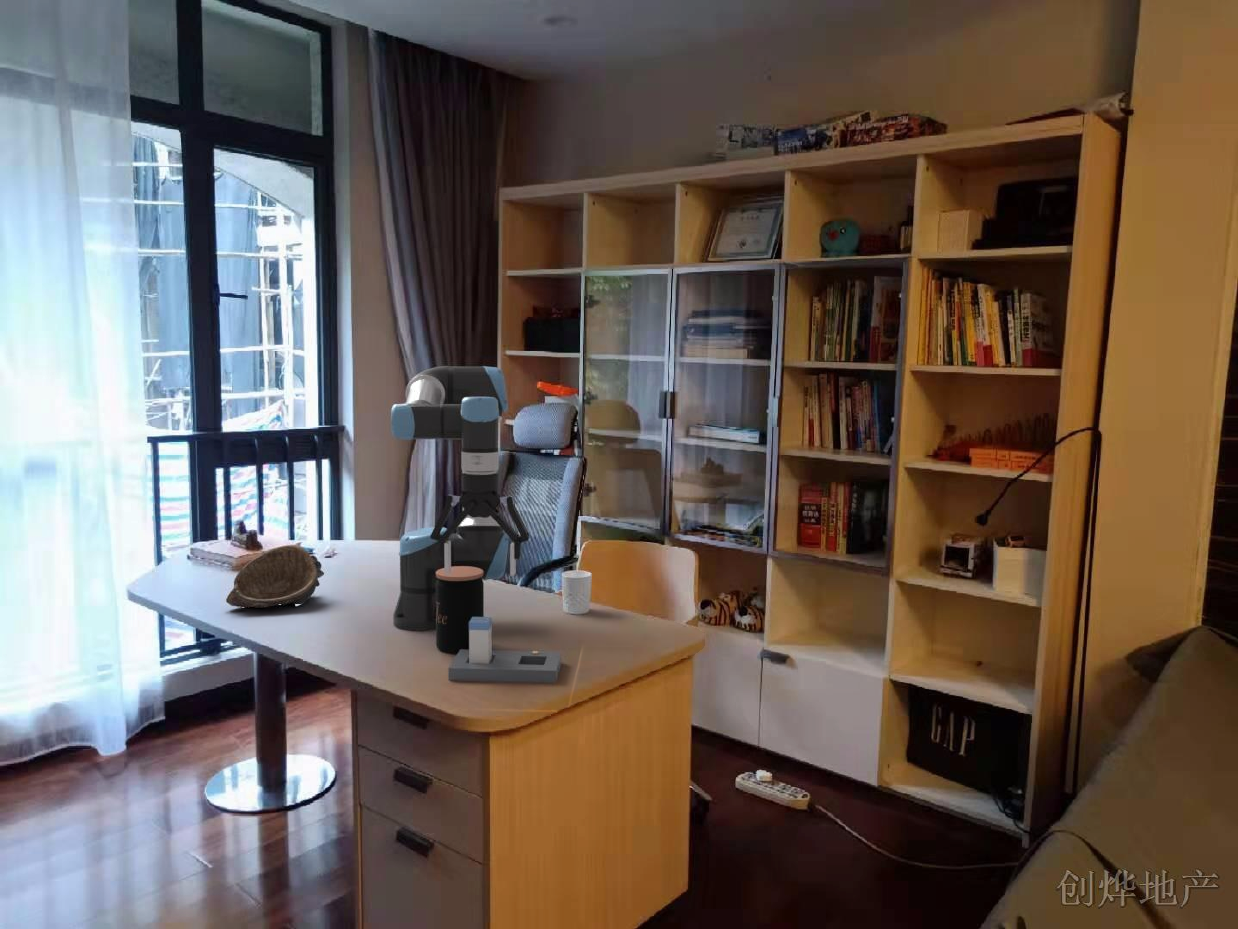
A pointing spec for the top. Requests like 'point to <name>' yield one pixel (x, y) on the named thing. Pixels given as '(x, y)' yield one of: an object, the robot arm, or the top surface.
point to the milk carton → (480, 640)
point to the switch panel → (508, 667)
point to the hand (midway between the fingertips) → (480, 573)
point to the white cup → (576, 591)
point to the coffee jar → (457, 606)
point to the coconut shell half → (276, 578)
